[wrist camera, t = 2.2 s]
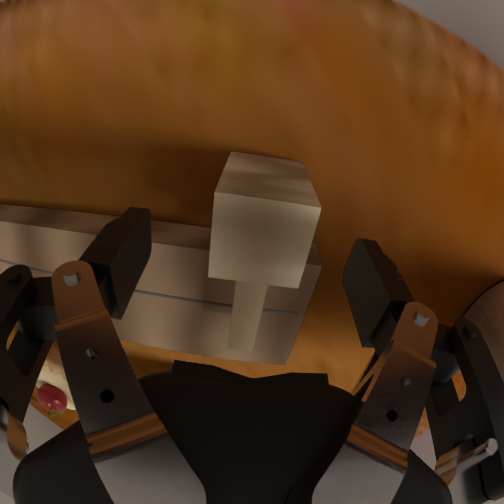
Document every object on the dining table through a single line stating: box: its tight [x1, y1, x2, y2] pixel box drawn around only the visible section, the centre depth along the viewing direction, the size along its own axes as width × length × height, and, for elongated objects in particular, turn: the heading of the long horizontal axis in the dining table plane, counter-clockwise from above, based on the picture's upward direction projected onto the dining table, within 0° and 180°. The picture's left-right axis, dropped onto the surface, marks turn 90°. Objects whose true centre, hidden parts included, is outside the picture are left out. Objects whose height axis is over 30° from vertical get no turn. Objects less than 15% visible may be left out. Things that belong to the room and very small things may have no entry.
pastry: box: [36, 340, 76, 416], centre depth 26 cm, size 12×12×9 cm
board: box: [0, 204, 322, 365], centre depth 20 cm, size 26×10×2 cm, turn 82°
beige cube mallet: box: [208, 151, 321, 351], centre depth 16 cm, size 4×10×6 cm, turn 172°
